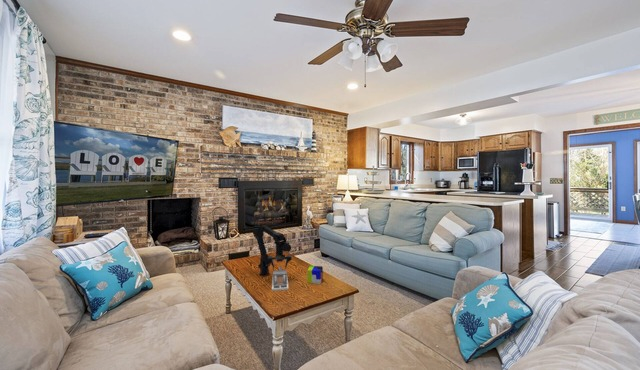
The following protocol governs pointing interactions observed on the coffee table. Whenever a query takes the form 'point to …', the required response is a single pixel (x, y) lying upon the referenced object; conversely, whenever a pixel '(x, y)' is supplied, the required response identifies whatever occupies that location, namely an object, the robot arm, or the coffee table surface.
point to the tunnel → (278, 273)
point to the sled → (279, 278)
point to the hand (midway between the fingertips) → (279, 268)
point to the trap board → (281, 286)
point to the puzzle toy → (315, 274)
